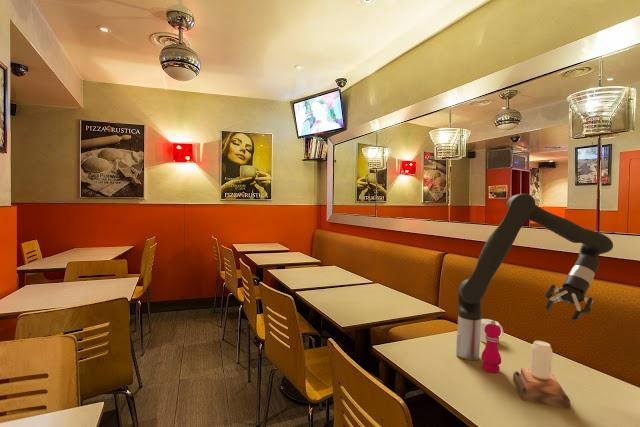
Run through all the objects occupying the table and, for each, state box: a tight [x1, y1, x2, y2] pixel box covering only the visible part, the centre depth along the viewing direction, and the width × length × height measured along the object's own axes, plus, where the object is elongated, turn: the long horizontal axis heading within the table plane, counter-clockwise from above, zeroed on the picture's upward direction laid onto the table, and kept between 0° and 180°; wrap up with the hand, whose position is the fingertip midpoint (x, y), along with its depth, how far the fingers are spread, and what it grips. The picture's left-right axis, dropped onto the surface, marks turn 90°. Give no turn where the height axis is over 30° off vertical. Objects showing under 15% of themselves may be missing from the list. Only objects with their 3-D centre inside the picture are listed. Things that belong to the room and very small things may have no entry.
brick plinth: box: [512, 367, 571, 410], centre depth 121 cm, size 14×14×6 cm
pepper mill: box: [480, 319, 502, 374], centre depth 138 cm, size 7×7×20 cm
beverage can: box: [529, 340, 553, 380], centre depth 121 cm, size 6×6×12 cm
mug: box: [480, 318, 504, 344], centre depth 169 cm, size 12×9×9 cm
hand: (560, 315), depth 130 cm, fingers open, 8 cm apart
